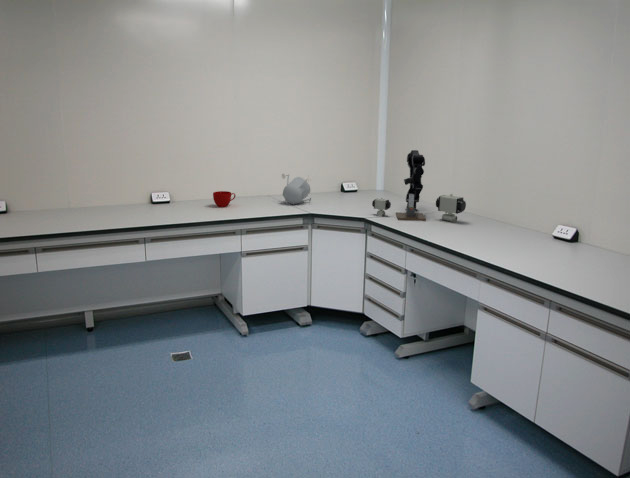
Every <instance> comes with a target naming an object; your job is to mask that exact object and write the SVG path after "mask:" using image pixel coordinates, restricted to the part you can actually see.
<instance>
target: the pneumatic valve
mask: <svg viewBox="0 0 630 478" xmlns="http://www.w3.org/2000/svg"><path fill="white" fill-rule="evenodd" d="M371 205H372V207H373V209H374V210H377V211H376V214H377V216H379V217H383V216H385V215H386V212H385V211H387V210H389V209H391V207H392V206H391V205H392V203H391V201H390V199H386V198H385V199H384V198H383V197H381V198H375V199H374V200H372V203H371Z"/></svg>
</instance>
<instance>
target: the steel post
mask: <svg viewBox="0 0 630 478" xmlns="http://www.w3.org/2000/svg"><path fill="white" fill-rule="evenodd" d="M408 208H414V194H409V206H408Z"/></svg>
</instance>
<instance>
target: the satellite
mask: <svg viewBox="0 0 630 478" xmlns="http://www.w3.org/2000/svg"><path fill="white" fill-rule="evenodd" d="M286 177H287V180H286V181H287V182H286V186H284V188H283V191H282V196H283V198H284V200H285V201H286V202H287V203H289V204H291V205H298V204H300V203H303V202H307V201H309V204H311V203H310V202H311V201H312V197H310V198H307V197H308V196H309V194H310V193H311V186H310V184H309V182H311V181H312V179H310V178H309V177H310V176H309V175H307V178H306V179H304V178H303V177H301V176H296V177H294V178H293V179H292V180H291V181H290V182H289V180H290V174H286V175H285V173H282V174H281V178H282V180H285V179H286Z"/></svg>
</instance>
